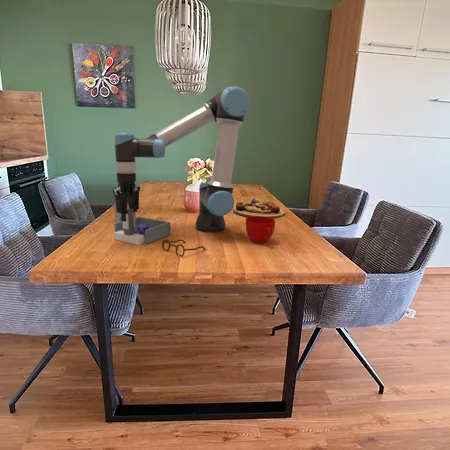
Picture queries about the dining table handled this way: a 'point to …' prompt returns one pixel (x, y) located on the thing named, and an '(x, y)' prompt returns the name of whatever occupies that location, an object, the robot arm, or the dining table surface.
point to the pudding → (141, 229)
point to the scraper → (129, 231)
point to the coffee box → (118, 215)
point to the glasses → (178, 246)
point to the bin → (156, 228)
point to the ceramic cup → (260, 228)
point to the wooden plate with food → (258, 209)
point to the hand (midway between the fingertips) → (129, 227)
